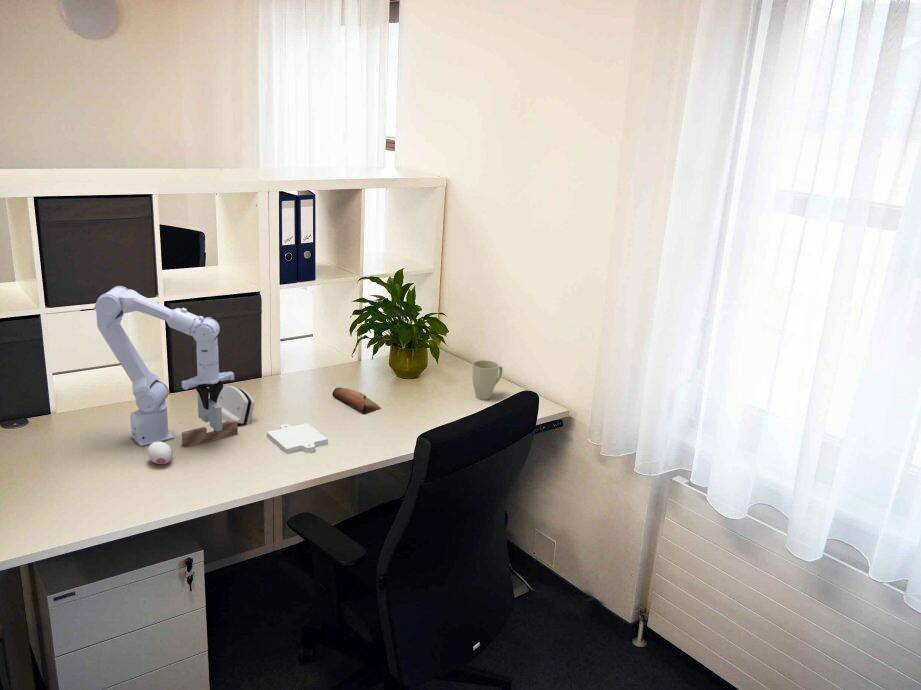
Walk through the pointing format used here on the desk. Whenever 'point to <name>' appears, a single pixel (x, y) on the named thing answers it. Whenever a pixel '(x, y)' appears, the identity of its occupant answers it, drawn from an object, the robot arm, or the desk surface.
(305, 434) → the mounting plate
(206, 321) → the robot arm
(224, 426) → the walnut plate
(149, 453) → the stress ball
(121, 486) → the desk surface
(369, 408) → the sunglasses case
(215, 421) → the upright grey panel
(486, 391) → the mug
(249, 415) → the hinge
